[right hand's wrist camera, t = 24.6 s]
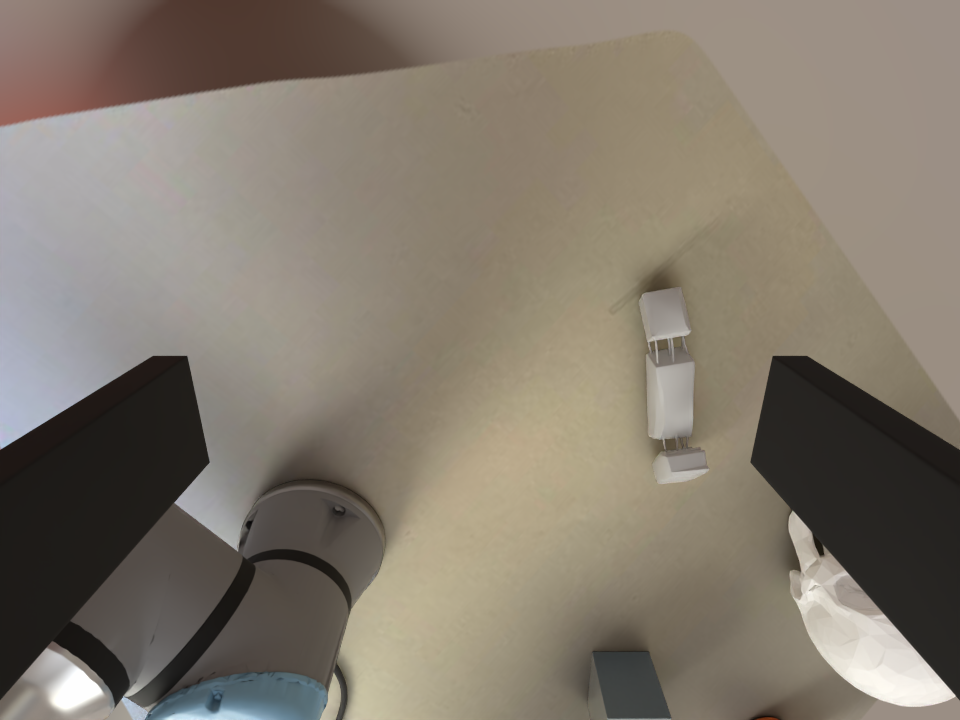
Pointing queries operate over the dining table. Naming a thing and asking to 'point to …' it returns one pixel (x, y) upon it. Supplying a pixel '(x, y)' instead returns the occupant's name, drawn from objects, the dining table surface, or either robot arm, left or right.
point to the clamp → (670, 385)
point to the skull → (857, 630)
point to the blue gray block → (625, 688)
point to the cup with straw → (767, 718)
